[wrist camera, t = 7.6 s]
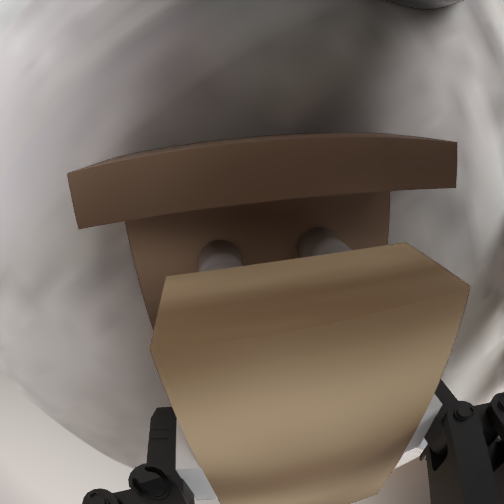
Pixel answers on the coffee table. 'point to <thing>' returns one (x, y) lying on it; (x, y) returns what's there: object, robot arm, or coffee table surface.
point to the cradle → (255, 198)
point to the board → (306, 369)
